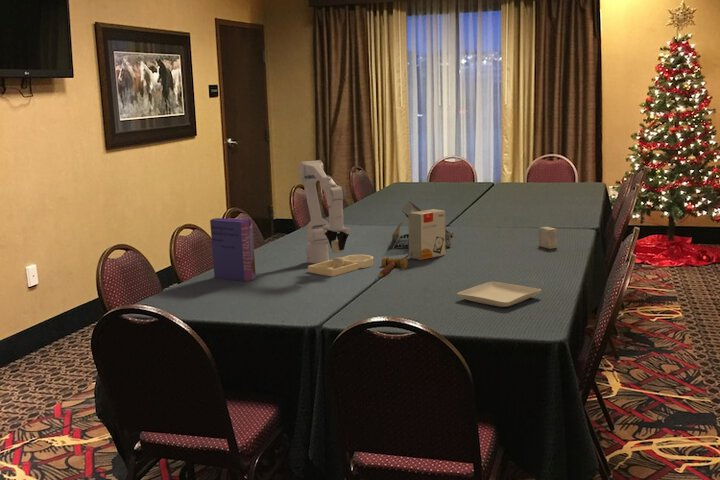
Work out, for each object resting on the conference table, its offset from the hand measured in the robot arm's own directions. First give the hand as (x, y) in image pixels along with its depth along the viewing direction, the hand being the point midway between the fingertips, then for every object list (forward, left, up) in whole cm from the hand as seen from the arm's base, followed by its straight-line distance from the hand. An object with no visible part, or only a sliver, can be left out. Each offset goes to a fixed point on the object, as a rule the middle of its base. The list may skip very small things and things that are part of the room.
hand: (337, 249), depth 321 cm
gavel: (+19, +9, -10) cm, 23 cm away
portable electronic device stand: (-8, +66, -10) cm, 67 cm away
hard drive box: (+14, +41, -9) cm, 44 cm away
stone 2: (+1, -1, -8) cm, 8 cm away
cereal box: (-25, -34, -9) cm, 43 cm away
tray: (+1, -4, -9) cm, 9 cm away
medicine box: (+47, +86, -9) cm, 98 cm away
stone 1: (0, 0, -1) cm, 1 cm away
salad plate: (+78, 0, -9) cm, 79 cm away
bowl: (+2, +10, -9) cm, 13 cm away
